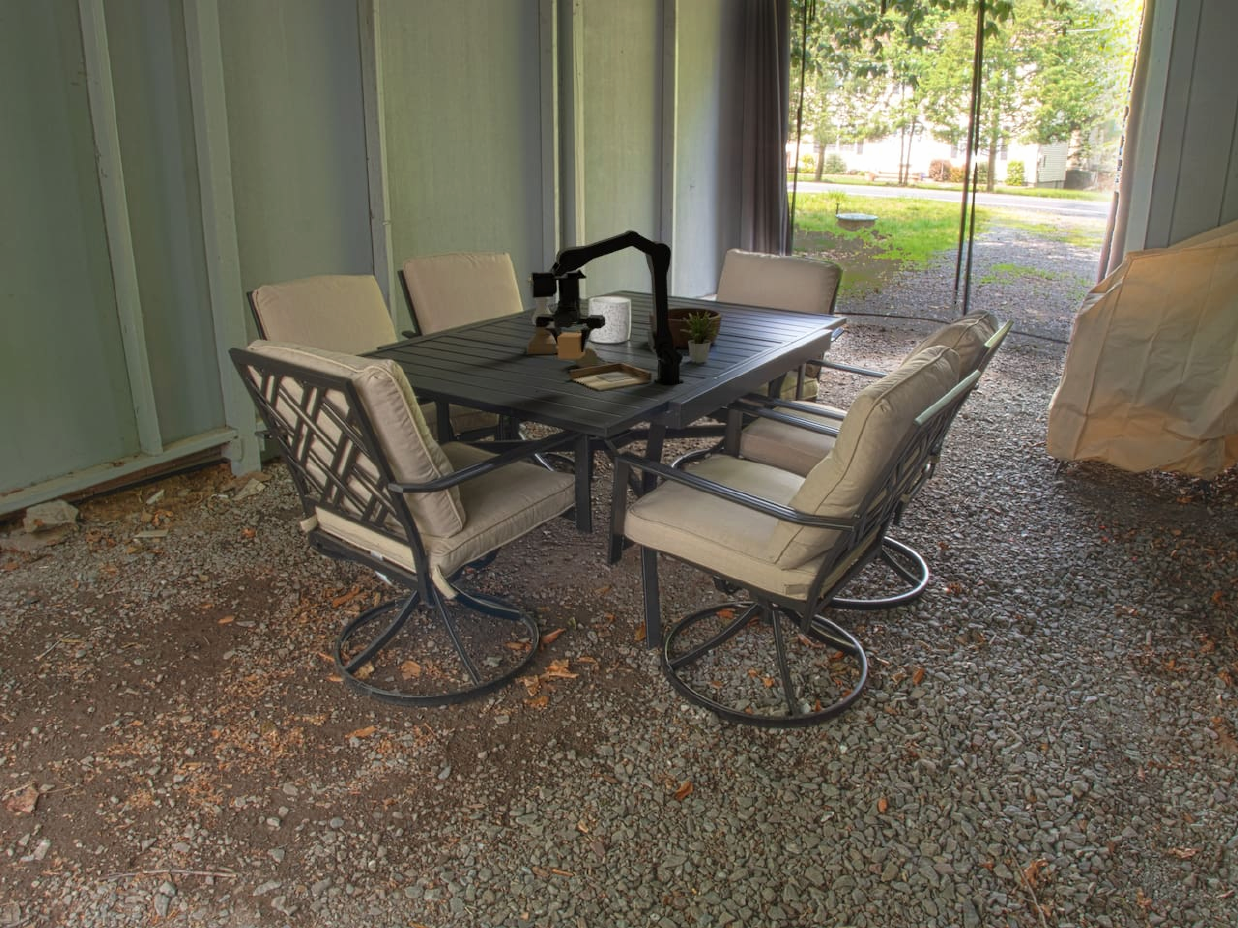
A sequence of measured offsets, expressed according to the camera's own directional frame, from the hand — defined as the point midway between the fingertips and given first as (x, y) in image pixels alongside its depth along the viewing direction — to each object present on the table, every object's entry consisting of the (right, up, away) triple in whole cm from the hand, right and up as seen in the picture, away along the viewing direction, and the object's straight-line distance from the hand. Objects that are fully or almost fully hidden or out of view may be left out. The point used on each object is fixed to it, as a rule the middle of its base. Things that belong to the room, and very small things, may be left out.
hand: (571, 351), depth 244 cm
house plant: (+39, +1, +32) cm, 51 cm away
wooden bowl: (+36, +11, +60) cm, 71 cm away
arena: (+11, -7, +11) cm, 17 cm away
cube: (0, -1, 0) cm, 1 cm away
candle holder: (-12, +7, +50) cm, 52 cm away
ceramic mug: (+4, -1, +28) cm, 28 cm away
